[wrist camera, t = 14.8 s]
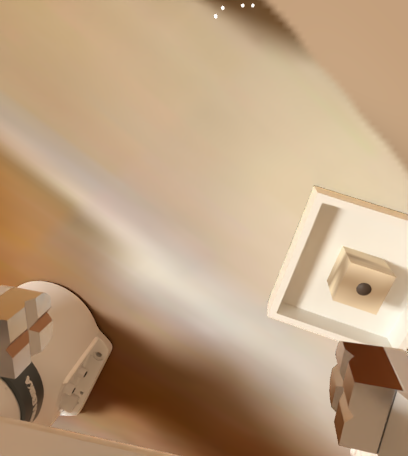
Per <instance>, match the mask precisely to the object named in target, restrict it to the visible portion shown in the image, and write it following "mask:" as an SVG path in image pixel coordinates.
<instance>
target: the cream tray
mask: <svg viewBox="0 0 408 456" xmlns="http://www.w3.org/2000/svg"><path fill="white" fill-rule="evenodd" d="M342 246H345V247H348V248H351V249H354V250H357V251H360V252H363V253H366V254H370V255H373V256H376V257H379V258H382V259H384V261H385V262H386V263H387V265H388V266H389V268H390V269H391V270H392V272H393V273H394V274H395V276H396V279H395V281H394V283H393V285H392V287H391V288H390V290H389V292H388V294H387V296H386V298H385V300H384V301H383V303H382V305H381V307H380V309H379V311H378V313H377V315H375V314H372V313H369V312H366V311H363V310H360V309H357V308H354V307H351V306H348V305H345V304H342V303H339V302H336V301H333V299H332V296H331V293H330V289H329V286H328V283H327V279H328V277H329V275H330V273H331V270H332V268H333V266H334V264H335V262H336V259H337V257H338V255H339V253H340V251H341V249H342ZM267 317H270V318H273V319H275V320H278V321H281V322H284V323H287V324H290V325H293V326H296V327H299V328H301V329H304V330H307V331H310V332H313V333H316V334H319V335H322V336H325V337H327V338H330V339H333V340H336V341H345V342H352V343H359V344H366V345H374V346H383V347H391V348H398V349H403V350H404V351H406V350H407V348H408V215H407V214H404V213H401V212H398V211H395V210H391V209H388V208H385V207H382V206H379V205H375V204H372V203H369V202H366V201H363V200H359V199H356V198H353V197H350V196H347V195H343V194H340V193H337V192H334V191H331V190H327V189H324V188H321V187H318V186H313V189H312V191H311V194H310V196H309V199H308V201H307V204H306V206H305V209H304V211H303V214H302V216H301V219H300V221H299V224H298V226H297V229H296V231H295V234H294V236H293V239H292V242H291V244H290V247H289V249H288V252H287V254H286V257H285V259H284V262H283V264H282V267H281V269H280V272H279V274H278V277H277V279H276V282H275V284H274V287H273V289H272V292H271V294H270V297H269V299H268V309H267Z"/></svg>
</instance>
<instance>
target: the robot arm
mask: <svg viewBox="0 0 408 456" xmlns="http://www.w3.org/2000/svg"><path fill="white" fill-rule="evenodd" d="M111 351H112V344H111V342H110V341H109V340H108V339H107V337H106V336H105V335H104V334H103V333H102V332H101V331H100V330H99V328H98V327H97V325H96V322H95V320H94V318H93V316H92V314H91V312H90V311H89V309H88V308H87V307H86V305H85V304H84V303H83V302H82V301H81V300H80V299H79V298H78V297H77V296H76V295H74V294H73V293H72V292H70V291H69V290H67V289H65V288H63V287H61V286H59V285H57V284H54V283H50V282H44V281H32V282H27V283H24V284H22V285H20V286H18V287H17V288H15V287H12V286H5V285H0V456H180V455H175V454H171V453H166V452H162V451H157V450H153V449H148V448H144V447H139V446H135V445H130V444H126V443H121V442H117V441H112V440H108V439H103V438H99V437H94V436H90V435H85V434H81V433H76V432H72V431H67V430H63V429H58V428H54V427H50V426H51V425H52V424H53V423H54V422H55V421H56V419H57V418H58V416H59V415H63V416H73V415H77V414H79V412H80V411H81V410H82V408H83V406H84V404H85V403H86V401H87V399H88V397H89V395H90V393H91V391H92V389H93V387H94V385H95V383H96V381H97V379H98V377H99V375H100V373H101V371H102V369H103V367H104V365H105V363H106V361H107V359H108V357H109V355H110V353H111ZM100 353H101V354H100ZM335 355H336V359H337V363H338V364H337V365H336V366H335V367H333V368H332V372H331V377H330V389H329V392H330V402H331V407H332V408H333V409H334V410H335V411H336V416H335V420H334V423H335V428H336V434H337V439H338V444H339V446H343V447H347V448H352V449H356V450H360V451H365V452H369V453H373V454H377V455H378V456H408V355H407V353H406V351H404V350H403V349H398V348H391V347H383V346H374V345H366V344H359V343H352V342H345V341H339V343H338V345H337V349H336V353H335Z"/></svg>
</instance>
